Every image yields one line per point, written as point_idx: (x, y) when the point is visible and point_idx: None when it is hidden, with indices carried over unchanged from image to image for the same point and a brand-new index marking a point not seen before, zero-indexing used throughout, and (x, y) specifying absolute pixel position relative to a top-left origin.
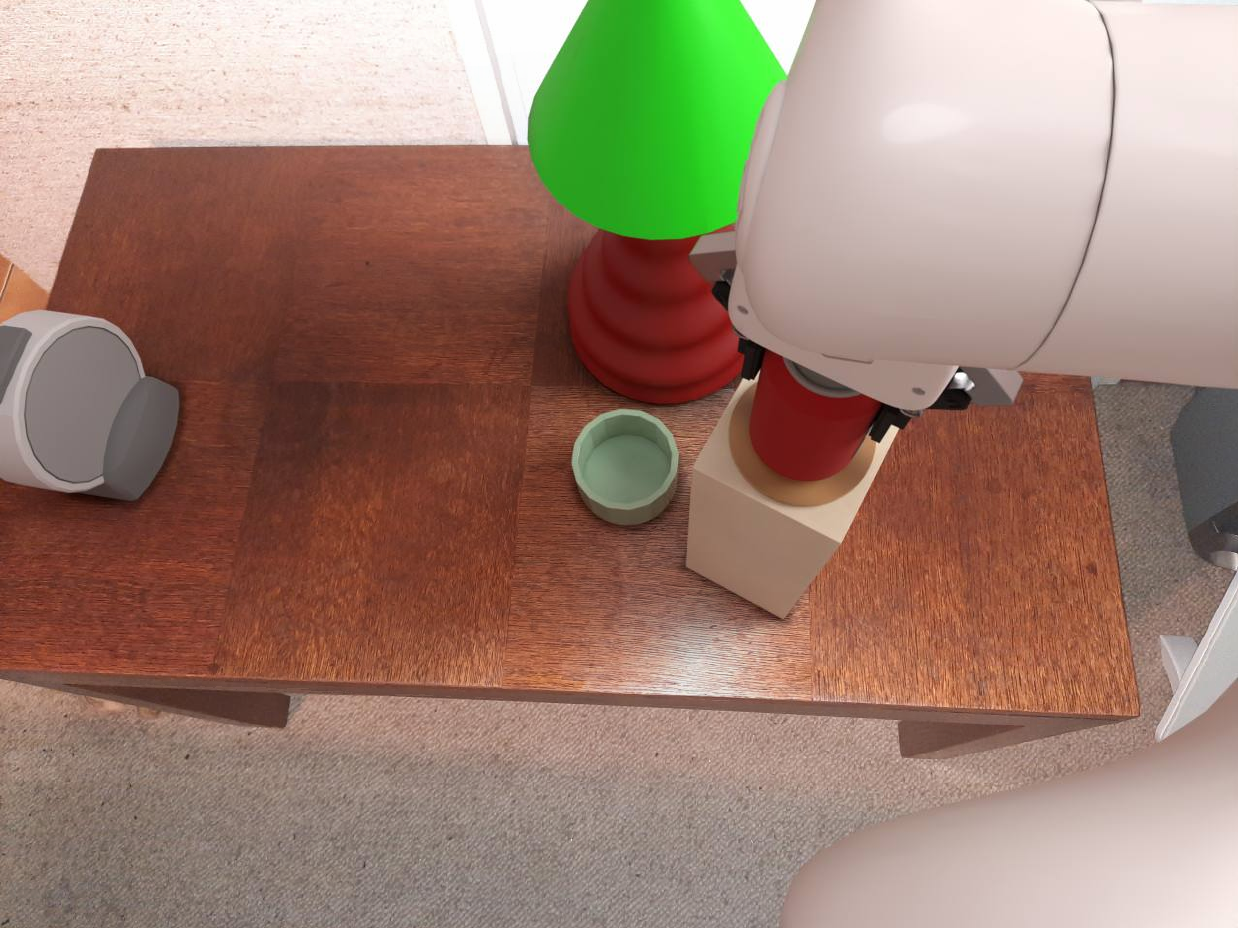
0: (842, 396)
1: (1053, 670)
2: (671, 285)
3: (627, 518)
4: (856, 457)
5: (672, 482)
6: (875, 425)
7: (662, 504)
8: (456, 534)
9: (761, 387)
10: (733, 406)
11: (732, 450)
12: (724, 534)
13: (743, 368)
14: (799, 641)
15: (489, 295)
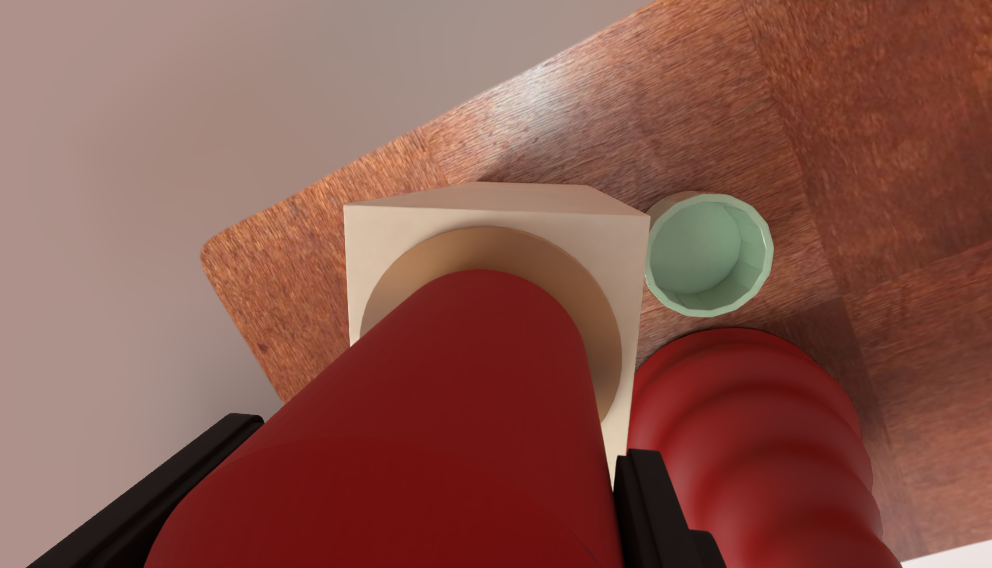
0: None
1: (251, 251)
2: (760, 480)
3: (670, 199)
4: None
5: None
6: (206, 469)
7: None
8: (857, 92)
9: (585, 451)
10: (624, 360)
11: (591, 279)
12: (554, 194)
13: (670, 492)
14: (452, 168)
15: (940, 376)
